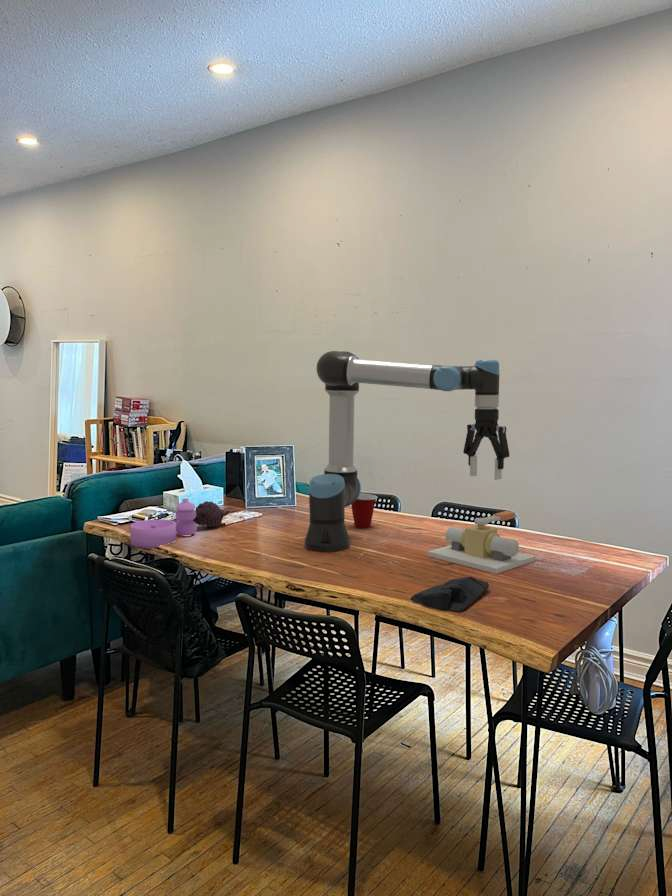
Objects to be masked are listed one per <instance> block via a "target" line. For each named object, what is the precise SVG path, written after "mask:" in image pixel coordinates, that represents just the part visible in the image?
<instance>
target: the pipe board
mask: <svg viewBox="0 0 672 896" xmlns="http://www.w3.org/2000/svg"><path fill="white" fill-rule="evenodd" d="M445 540H446V542H447V543H450V544H451V545H447V546H443V547H439V548H436V549H431V550H428V551H427V557H430V558H433V559H437V560H441V561H445V562H449V563H452V564H453V563H454V564H457V565H461V566H465V567H468V568H472V569H477V570H480V571H484V572H487V573H490V574H491V573H492V574H499V573H503V572H506V571H509V570H512V569H514V568H518V567H521V566H524V565H527V564H530V563H533V562H536V555H531V554H527V553H524V552H519V547H520V546H519V541H518V540H517V539H512V538H507V537H503V536H501V535H500V534H499V533H498V528H495V527H491V526H487V525H473V526H469V527H465V528H459V527H453V526H449V527H448V528H447V530H446V532H445Z"/></svg>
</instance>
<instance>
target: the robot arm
mask: <svg viewBox="0 0 672 896" xmlns="http://www.w3.org/2000/svg"><path fill="white" fill-rule="evenodd" d="M315 369H316V374H317V376H318V378H319V380H320V381H321V382H322V383H323V384H325V385H324V386H325V387H324V389H325V390H324V391H325V392H326V394H328V395H329V406H328V407H329V409H328V410H329V411H328V412H329V414H328V416H329V417H328V421H329V422H328V426H329V427H328V465H326V466H325V468H324V470H323V471H324V472H323V473H324V474H318V475H315V476H313V477H312V478H311V479H310V480H309V486H308V492H309V493H308V494H309V495H308V498H309V503H308V504H309V506H308V507H309V524H308V528H307V532H306V535H305V538H304V548H306V549H307V550H310V551H316V552H337V551H343V550H346V549H348V548H349V547H351V539H350V537H349V533H348V530H347V529H348V528H347V526H346V524H345V509H346V507H347V508H348V507H349V506H351V504H353V503H354V502H355V501H356V499H357V498H358V497H359V495H360V493H361V491H362V487H361V486H362V485H361V481H360V480H359V478H358V468H357V467H356V466H355V465H354V444H355V443H354V439H355V436H354V434H355V433H354V432H355V431H354V430H355V428H354V427H355V396H356V395H357V394H358V393H360V392H359V391H360V384H369V385H377V386H380V385H381V386H389V387H391V386H393V387H403V388H415V389H428V390H434V391H435V390H437V391H442V392H452V391H455V390H457V391H460V390H461V391H462V390H471V391H472V390H474V407H475V409H474V420H475V423H472V424H467V425H466V428H467V429H466V431H467V432H466V436H465V442H464V445H463V451H462V452H463V454H466V455H467V456H468V463H467V464H468V466H469V477H476V476H478V456H477V454H476V453H477V451H478V448H479V447H480V444H481V443H482V440H483V438H487V439H488V440H489V441H490V443H491V446H492V448H493V451H494V453H495V456H496V457H495V459H494V480H496V481H497V480H501V479H502V477H503V474H502V471H503V470H504V468H505V467H504V466H505V465H504V464H505V459H507V458H510V451H509V444H508V439H507V426H504V425H503V426H501V425H499V424H498V421H499V415H500V412H499V409H498V407H499V406H500V403H499V402H500V376H501V375H500V362H499V361H498V360H497V359H476V361H475V363H474V365H472V366H471V365H470V366H468V365H467V366H465V365H464V366H463V365H461V366H459V365H455V366H454V365H452V366H451V365H436V364H426V363H425V364H423V363H411V362H398V361H390V360H389V361H388V360H387V361H386V360H375V359H374V360H373V359H361V358H359V357H358V356H357V355H356V354H354V353H352V352H349V351H344V350H343V351H342V350H341V351H339V350H330V351H327V352H326V353H323V354H322V355H321V356H320V358H319V359H318V360H317V363H316V368H315Z"/></svg>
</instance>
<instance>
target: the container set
mask: <svg viewBox="0 0 672 896" xmlns="http://www.w3.org/2000/svg"><path fill="white" fill-rule="evenodd" d="M181 501H182V502H179V503H178V504H177V505H176V506H175V508H176V510H177V511H176V512H175V518H176V520H177V521H178V522H177V523H176V521H174V520H170V519H161V518H160V519H144V520H139V521H135V522H132V523H130V524H129V534H130V535H129V536H130V538H129V539H130V545H131V546H132V547H134V548H144V549H147V548H149V549H153V548H159V547H158V546H160V545H164V544H168V543H171V542H173V541H175V540H176V541H177V535H178V534H179V535H192V534H194V535H195V534H196V532H197V531H198V524H196V523H195V522H194V521H193V519H195V517H196V512H195V511H196V505H195V504H194V503H192V502H191V501H190V502H189V498H182V499H181ZM179 535H178V536H179Z"/></svg>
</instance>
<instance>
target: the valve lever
mask: <svg viewBox="0 0 672 896" xmlns="http://www.w3.org/2000/svg"><path fill="white" fill-rule="evenodd" d="M515 518H516V511H508V510H505V511H501V512H496V513H493V515H491V516H490V515H489V516H487V517H476V518H475V517H474V524H475V526H477V525H485V526H487V525H489V524H490V523H492V522H493V523H494V522H496V521H498V522H499V521H500V522H504V521H507V520H512V519H515Z"/></svg>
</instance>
